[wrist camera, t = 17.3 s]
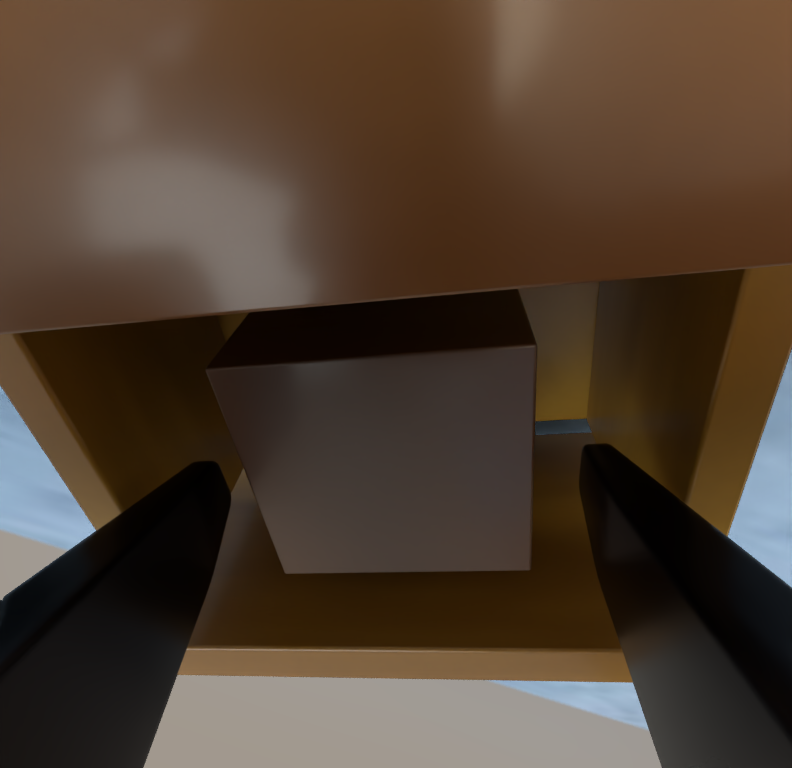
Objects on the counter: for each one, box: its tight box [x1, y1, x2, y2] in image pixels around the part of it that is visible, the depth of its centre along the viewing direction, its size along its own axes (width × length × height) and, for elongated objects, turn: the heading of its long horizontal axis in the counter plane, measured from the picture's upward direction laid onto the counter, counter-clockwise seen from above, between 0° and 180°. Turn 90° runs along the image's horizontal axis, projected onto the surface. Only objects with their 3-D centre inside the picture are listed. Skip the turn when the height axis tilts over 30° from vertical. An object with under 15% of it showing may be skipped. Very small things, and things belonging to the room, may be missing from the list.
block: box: [206, 289, 537, 574], centre depth 11 cm, size 5×5×5 cm
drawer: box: [0, 265, 792, 682], centre depth 11 cm, size 17×12×7 cm
